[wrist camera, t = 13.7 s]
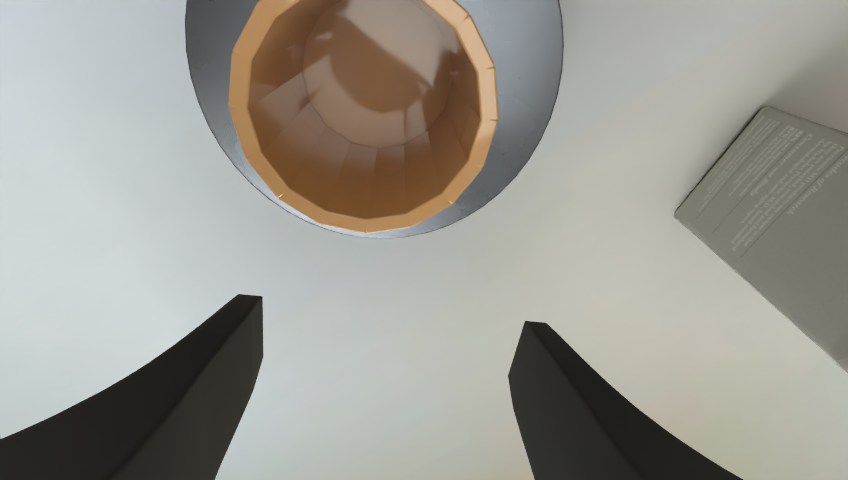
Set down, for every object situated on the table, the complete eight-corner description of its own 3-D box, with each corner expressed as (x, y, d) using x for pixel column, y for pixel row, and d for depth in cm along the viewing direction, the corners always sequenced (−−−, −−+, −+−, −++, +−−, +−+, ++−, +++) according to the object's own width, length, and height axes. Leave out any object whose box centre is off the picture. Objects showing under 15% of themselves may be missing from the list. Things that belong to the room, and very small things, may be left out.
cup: (263, 91, 15) (182, 141, 10) (354, -66, 13) (320, -119, 8) (397, 182, 17) (396, 272, 11) (494, 55, 15) (552, 85, 9)
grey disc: (174, 93, 19) (123, 113, 16) (333, -228, 15) (312, -302, 11) (414, 246, 23) (417, 290, 19) (595, 27, 19) (641, 32, 15)
